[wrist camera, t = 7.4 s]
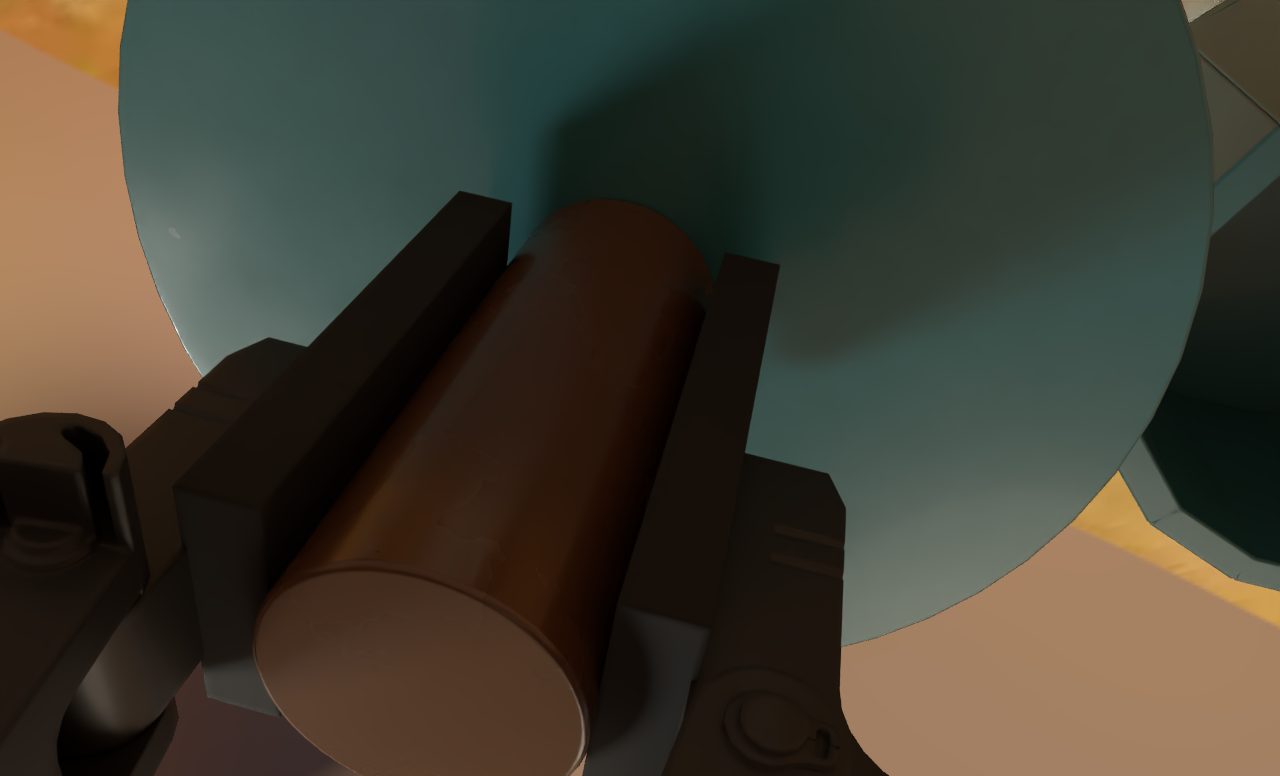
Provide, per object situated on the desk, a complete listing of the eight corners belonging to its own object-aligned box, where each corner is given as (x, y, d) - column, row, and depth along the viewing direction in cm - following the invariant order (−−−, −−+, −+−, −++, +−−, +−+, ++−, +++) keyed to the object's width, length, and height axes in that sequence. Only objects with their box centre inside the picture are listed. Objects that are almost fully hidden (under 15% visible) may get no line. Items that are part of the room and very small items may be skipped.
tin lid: (84, -484, 11) (-1269, -913, 4) (1468, -238, 10) (2948, -249, 3) (216, 504, 20) (-141, 907, 13) (957, 701, 19) (1008, 1266, 12)
